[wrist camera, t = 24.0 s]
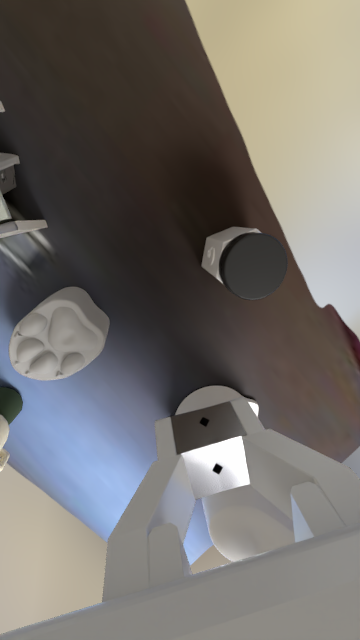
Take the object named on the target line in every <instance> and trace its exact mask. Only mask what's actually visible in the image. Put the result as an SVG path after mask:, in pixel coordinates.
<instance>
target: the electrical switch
mask: <svg viewBox="0 0 360 640" xmlns="http://www.w3.org/2000/svg"><path fill="white" fill-rule="evenodd" d="M14 164H20V161H19V157H18V156H17V155H14V154H7V153H0V190H1V193H2V195H3V194H5V193H6V192H8V191H10V190H11V189H13V188H15V187H16V181H15V170H14Z"/></svg>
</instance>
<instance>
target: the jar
mask: <svg viewBox="0 0 360 640" xmlns="http://www.w3.org/2000/svg"><path fill="white" fill-rule="evenodd" d="M287 264H288V261H287V254H286V251H285V249H284V247H283V245H282V244H281V243H280V242H279V241H278V240H277V239H276V238H274V237H273V236H271V235H268V234H264V233H261V232H260V231H259V230H258V229H253V228H243V227H231V228H228V229H226V230H223V231H221V232H219V233H216V234H214V235H211V236H209V237H207V238H206V243H205V249H204V254H203V260H202V265H201V266H202V268H203V269H205V270H206V271H207V272H208V273H210V274H211V275H212V276H213V277H214V278H216V279H217V280H218V281H219V282H220V283H222V284H223V285H224V286H225V287H226V288H227V289H228V290H229V291H230V292H231V293H233V294H235V295H236V296H238V297H240V298H242V299H246V300H258V299H262V298H264V297H267V296H268V295H270V294H272V293H273V292H274V291H275V290H276V289H277V288H278V287H279V286H280V284H281V283H282V281H283V279H284V277H285V275H286V271H287Z"/></svg>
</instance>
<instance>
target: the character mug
mask: <svg viewBox="0 0 360 640" xmlns="http://www.w3.org/2000/svg"><path fill="white" fill-rule="evenodd" d="M22 405H23V401H22V399H21V396H20V395H19V394H18V393H17V392H16V391H15V390H13V389H9V388H6V387H0V457H1V460H0V471H1V470H2V469H3V468H4V466H5V464H6V462H7V460H8V458H9V456H10V454H9V452H8V451H6V450H5V449H3V448H2V447H3V446H4V444H5V442H6V440H7V437H8V433H9V430H10V429H9V424H10V423H11V422H12V421H13V420H14V419H15V417H16V416H17V415H18V414H19V412H20V411H21V410H22Z"/></svg>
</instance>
